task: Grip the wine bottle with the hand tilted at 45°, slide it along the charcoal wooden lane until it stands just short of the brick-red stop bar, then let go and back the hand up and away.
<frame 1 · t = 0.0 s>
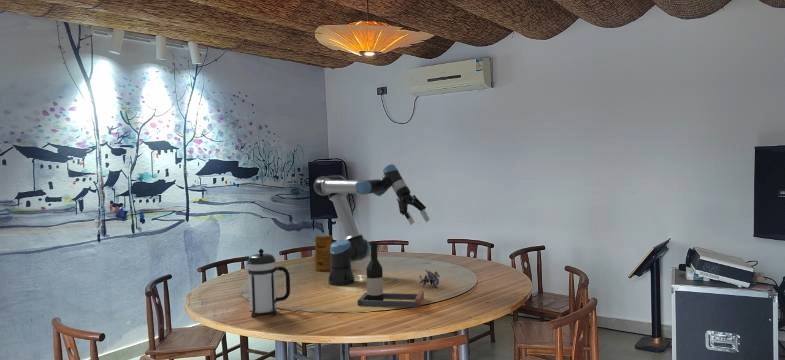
hand: (420, 222, 283), 36 cm above the table, tool tilted 35°, fingers open, 13 cm apart
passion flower: (429, 288, 287), on the table
wine bottle: (375, 302, 261), resting in lane
coffee press: (266, 312, 247), on the table
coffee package: (323, 269, 342), on the table
lane: (391, 302, 259), on the table
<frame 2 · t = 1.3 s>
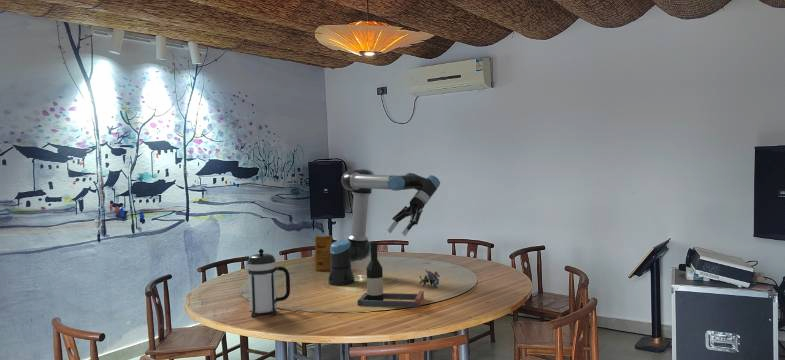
hand: (395, 232, 266), 33 cm above the table, tool tilted 45°, fingers open, 13 cm apart
nothing on the table moved.
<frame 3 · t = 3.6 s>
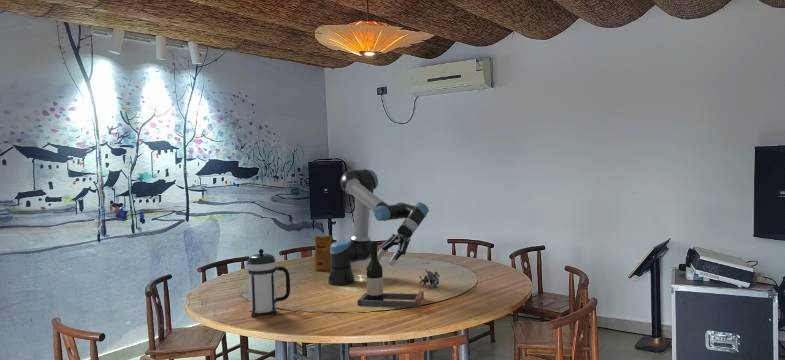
hand: (383, 262, 261), 19 cm above the table, tool tilted 45°, fingers open, 13 cm apart
nothing on the table moved.
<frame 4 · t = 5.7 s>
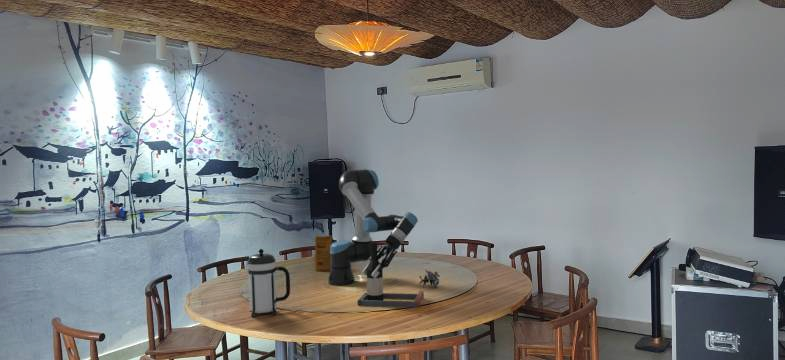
hand: (368, 275, 258), 14 cm above the table, tool tilted 45°, fingers closed on wine bottle, 8 cm apart
wine bottle: (375, 302, 261), resting in lane, touching gripper
everything else where it was.
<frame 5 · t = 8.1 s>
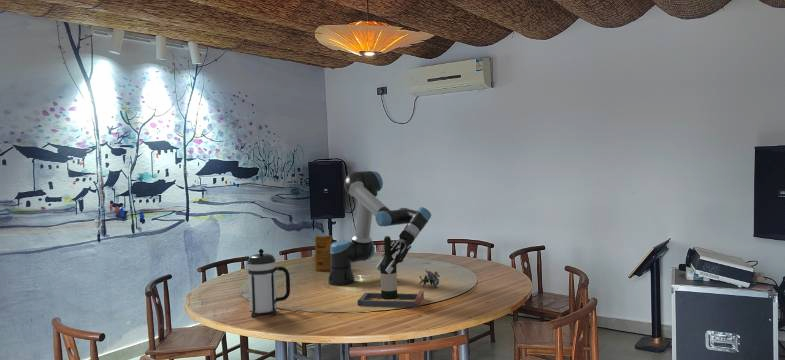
hand: (382, 270, 256), 16 cm above the table, tool tilted 45°, fingers closed on wine bottle, 8 cm apart
wine bottle: (389, 298, 258), point 2 cm above the table, touching gripper
everything else where it was.
when the fingers open (14 cm above the table, at t = 10.4 s): wine bottle stays where it is, resting in lane.
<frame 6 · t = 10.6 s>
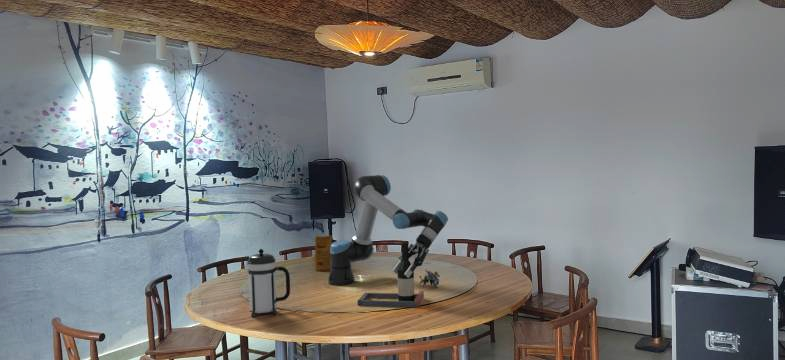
hand: (400, 274, 255), 14 cm above the table, tool tilted 45°, fingers open, 10 cm apart
wine bottle: (406, 303, 258), resting in lane
everything else where it was.
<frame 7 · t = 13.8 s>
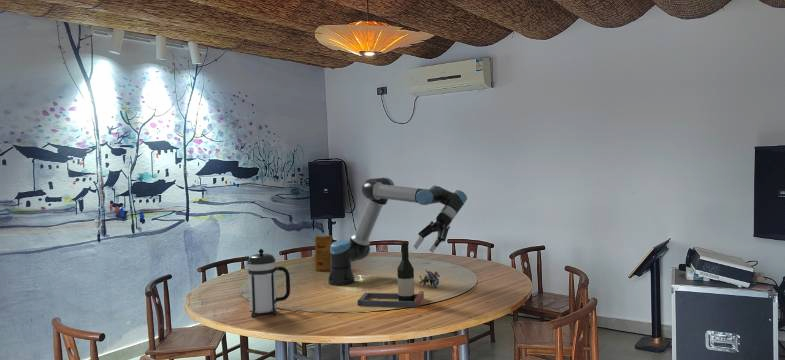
hand: (422, 249, 262), 25 cm above the table, tool tilted 45°, fingers open, 13 cm apart
nothing on the table moved.
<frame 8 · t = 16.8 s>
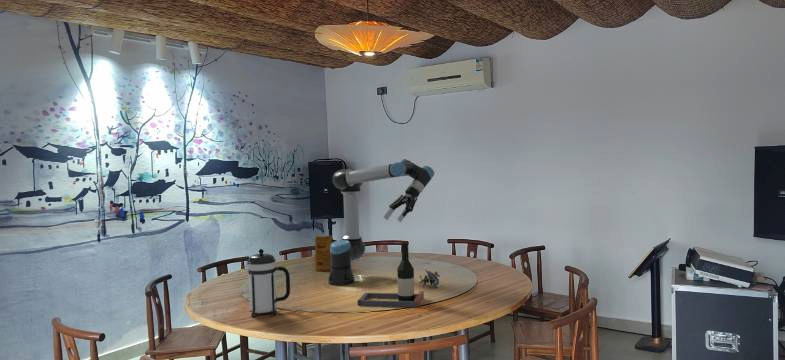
hand: (391, 219, 283), 38 cm above the table, tool tilted 45°, fingers open, 13 cm apart
nothing on the table moved.
at the end: wine bottle 0.5 cm from the target spot, resting in lane; wine bottle tilted 0°; the gripper is holding nothing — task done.
